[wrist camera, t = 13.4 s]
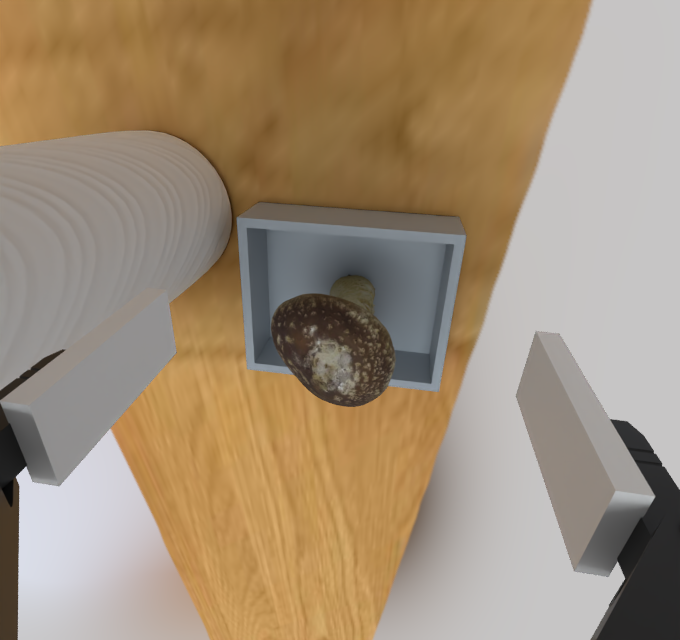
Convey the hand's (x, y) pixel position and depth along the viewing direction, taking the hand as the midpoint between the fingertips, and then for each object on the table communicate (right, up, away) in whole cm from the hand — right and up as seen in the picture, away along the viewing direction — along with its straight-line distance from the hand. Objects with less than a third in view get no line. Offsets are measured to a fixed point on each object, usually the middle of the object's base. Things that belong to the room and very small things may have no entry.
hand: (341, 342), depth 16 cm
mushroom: (+1, +4, +28) cm, 28 cm away
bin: (+1, +4, +28) cm, 28 cm away
